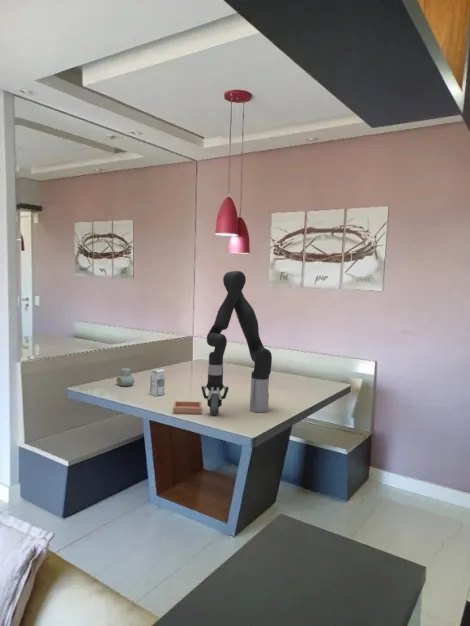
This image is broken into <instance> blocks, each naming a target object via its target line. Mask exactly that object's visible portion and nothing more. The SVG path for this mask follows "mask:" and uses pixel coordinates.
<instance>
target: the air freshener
mask: <svg viewBox="0 0 470 626" xmlns="http://www.w3.org/2000/svg"><path fill="white" fill-rule="evenodd" d="M131 374H132V370H131V368H129V367H122V368H121V369H120V375H119V376H118V377H117V378H116V383H117V384H118V385H119V386H120V387H128V386H131V385H133V384H134V383H135V378H134V376H133V375H131Z"/></svg>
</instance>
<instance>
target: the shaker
mask: <svg viewBox="0 0 470 626" xmlns="http://www.w3.org/2000/svg"><path fill="white" fill-rule="evenodd" d="M211 392H212V395H211V397H210V407H209V414H210V415H218V414H219V413H220V412H219V411H220V410H219V409H220V407H219V396H218V391H217V390H212V391H211Z"/></svg>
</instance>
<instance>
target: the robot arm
mask: <svg viewBox="0 0 470 626" xmlns="http://www.w3.org/2000/svg"><path fill="white" fill-rule="evenodd" d="M222 281H223V286H224V287H225V290H226V291H227V294H226V297H225V298H224V300H223V302H222V303H221V305H220V307H219V308H218V311H217V313H216V317H215V320H214V323H213V324H212V326H211V328H210V330H209V332H207V336H206V343H207V345H208V346H210V347H212V348H213V347H214V350H213V351H211V352H209V355H208V368H207V383H206V385H201V387H200V388H201V391H202V397H203V398H204V399H205V400H207V403H206V405H207V407H208V408H210V397H211V395H212V392H211V391H212V390H217V391H218V396H219V408H221V407H222V404H223V403H222V402H223V400H225V399H226V397H227V394H228V392H229V386H225V385H224V384H223V382H224V354H225V352H226V348H227V343H228V342H227V341H228V340H227V337H226V336H225V334H223V333H222V331H225V330H227V329H228V328H229V324H230V322H231V318H232V315H233V313H234V312H235V314H236V317H237V321H238V323H239V327H240V328H241V331H242V334H243V336H244V338H245V341H246V343H247V347H248V350H249V352H248V353H249V356H250V358H251V360H252V362H253V363H254V365H253V367H254V368H253V370H252V372H251V379H250V394H249V395H250V397H249V400H250V401H249V410H250V411H251V412H253V413H266V412H269V400H270V398H269V397H270V394H269V388H270V387H269V386H270V385H269V384H270V375H271V372H272V371H271V370H272V362H273V356H272V355H273V354H272V352H271V350H269V349H267V348H266V347H265V346H264V345H263V343H262V341H261V337H260V332H259V329H260V328H259V322H258V318H257V316H256V312H255V310H254V308H253V307H252V305H251V304H250V303H249V301H248V300H247V298H246V297H245V295H244V294H243V288H244V287H245V284H246V275H245V273H244V272H243V271H240V270H234V271H233V270H232V271H227V272H226V273H225V274H224V276H223V278H222ZM206 390H208V395H207V393H206ZM222 390H223V391H224V392H223V395H222V394H221V392H222Z"/></svg>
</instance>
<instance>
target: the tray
mask: <svg viewBox="0 0 470 626" xmlns="http://www.w3.org/2000/svg"><path fill="white" fill-rule="evenodd" d="M202 402H203V401H179V400H178V401H177V400H174V402H173V407H172V414H174V415H202V410H203V409H202Z"/></svg>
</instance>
